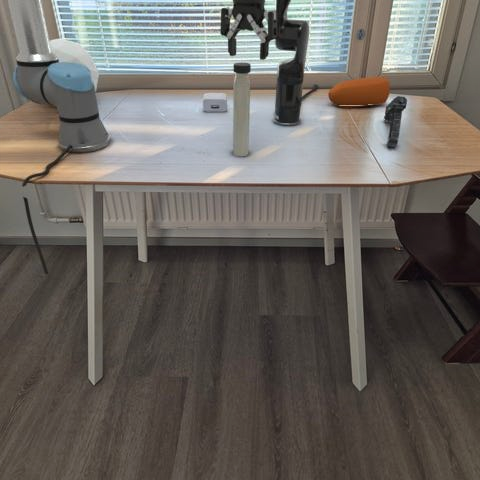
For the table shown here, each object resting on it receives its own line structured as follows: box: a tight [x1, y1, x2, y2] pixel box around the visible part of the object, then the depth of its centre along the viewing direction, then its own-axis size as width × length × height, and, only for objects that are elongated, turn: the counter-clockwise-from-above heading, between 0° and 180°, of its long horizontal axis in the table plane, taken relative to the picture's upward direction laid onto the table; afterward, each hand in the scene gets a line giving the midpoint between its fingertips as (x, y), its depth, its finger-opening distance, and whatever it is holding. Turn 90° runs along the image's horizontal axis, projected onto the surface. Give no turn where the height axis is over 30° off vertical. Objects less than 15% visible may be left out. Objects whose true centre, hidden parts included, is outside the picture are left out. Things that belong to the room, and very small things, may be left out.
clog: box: [327, 76, 391, 109], centre depth 165 cm, size 12×11×25 cm
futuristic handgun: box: [383, 95, 408, 147], centre depth 138 cm, size 4×29×15 cm, turn 164°
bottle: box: [232, 73, 251, 157], centre depth 118 cm, size 5×5×25 cm
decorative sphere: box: [49, 37, 100, 93], centre depth 157 cm, size 24×25×25 cm
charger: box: [202, 92, 228, 113], centre depth 163 cm, size 5×9×15 cm
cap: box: [233, 61, 252, 74], centre depth 111 cm, size 5×5×2 cm
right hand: (247, 57), depth 100 cm, fingers open, 8 cm apart
